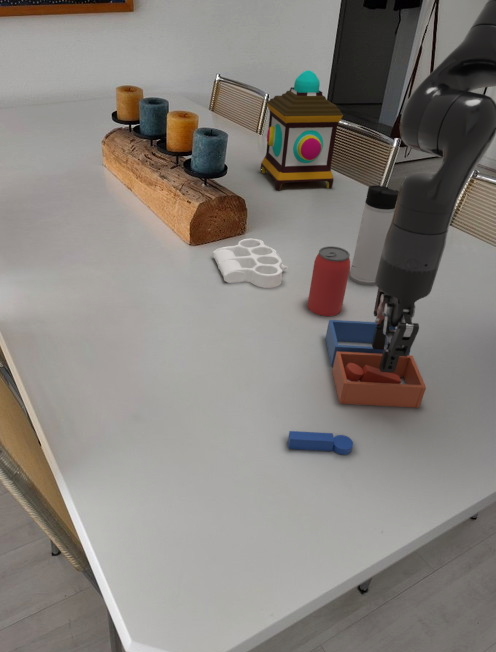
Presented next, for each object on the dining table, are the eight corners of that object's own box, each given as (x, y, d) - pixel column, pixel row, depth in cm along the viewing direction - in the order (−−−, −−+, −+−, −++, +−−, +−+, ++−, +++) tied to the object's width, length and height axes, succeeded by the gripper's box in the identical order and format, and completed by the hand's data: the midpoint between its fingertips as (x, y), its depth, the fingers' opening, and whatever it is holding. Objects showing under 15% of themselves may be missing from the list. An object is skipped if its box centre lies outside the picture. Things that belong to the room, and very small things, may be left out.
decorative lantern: (338, 192, 159) (358, 77, 141) (273, 194, 155) (285, 77, 137) (313, 170, 175) (329, 64, 156) (254, 172, 171) (263, 63, 152)
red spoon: (390, 383, 87) (398, 372, 86) (394, 395, 85) (402, 384, 84) (341, 368, 85) (348, 356, 84) (344, 379, 83) (351, 367, 82)
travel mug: (342, 279, 116) (361, 185, 104) (360, 270, 120) (381, 179, 107) (366, 291, 112) (389, 195, 100) (384, 281, 116) (408, 188, 104)
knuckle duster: (209, 254, 123) (271, 250, 126) (227, 293, 109) (296, 288, 112) (210, 240, 121) (272, 236, 124) (228, 278, 107) (298, 273, 110)
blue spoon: (288, 454, 75) (290, 442, 73) (287, 440, 77) (289, 427, 75) (352, 458, 75) (355, 445, 73) (349, 443, 77) (352, 431, 75)
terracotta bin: (405, 377, 90) (412, 355, 87) (418, 410, 83) (426, 387, 80) (331, 373, 90) (336, 351, 87) (338, 406, 83) (343, 383, 80)
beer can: (299, 306, 106) (308, 249, 99) (324, 298, 109) (334, 242, 102) (323, 322, 102) (334, 263, 95) (348, 312, 105) (360, 255, 98)
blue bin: (393, 344, 97) (399, 323, 94) (403, 372, 91) (410, 350, 88) (324, 340, 97) (328, 319, 94) (330, 368, 91) (335, 346, 88)
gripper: (455, 283, 66) (419, 390, 77) (424, 235, 78) (396, 334, 88) (394, 280, 66) (365, 387, 77) (372, 232, 78) (350, 331, 88)
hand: (382, 358), depth 82 cm, fingers open, 5 cm apart
